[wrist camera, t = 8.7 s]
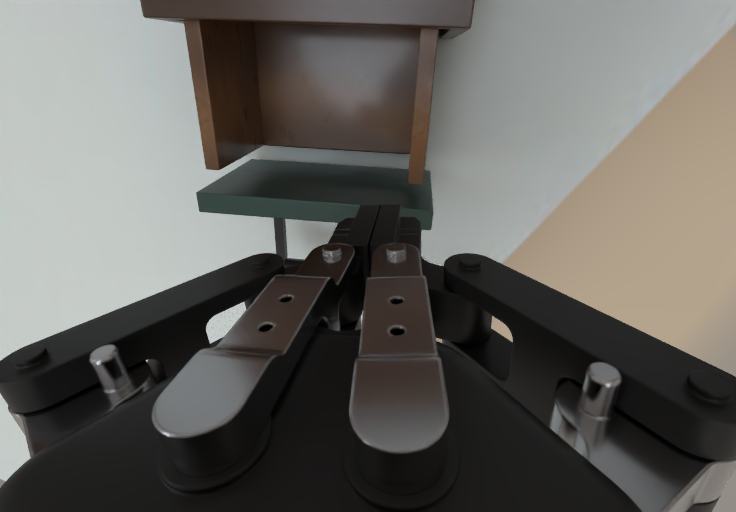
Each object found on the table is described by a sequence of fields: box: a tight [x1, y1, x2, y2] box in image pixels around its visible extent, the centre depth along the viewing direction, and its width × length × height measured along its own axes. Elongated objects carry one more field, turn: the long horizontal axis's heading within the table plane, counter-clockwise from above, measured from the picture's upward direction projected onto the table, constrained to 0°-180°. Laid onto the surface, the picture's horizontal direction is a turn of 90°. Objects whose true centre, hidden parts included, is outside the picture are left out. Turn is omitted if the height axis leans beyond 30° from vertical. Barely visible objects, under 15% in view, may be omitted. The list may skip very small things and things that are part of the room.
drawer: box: [184, 20, 439, 267], centre depth 24 cm, size 19×13×8 cm
